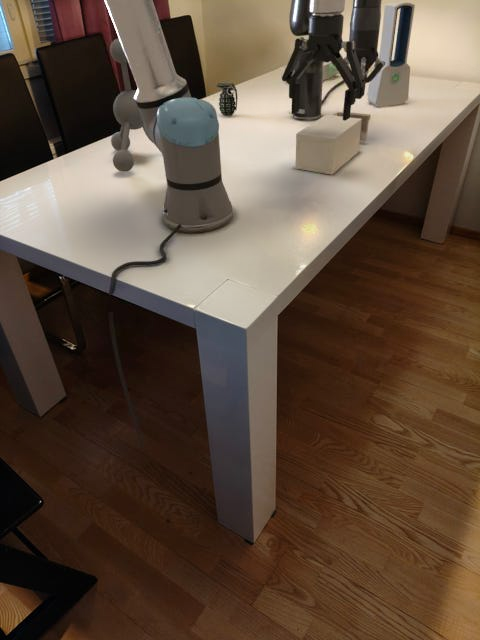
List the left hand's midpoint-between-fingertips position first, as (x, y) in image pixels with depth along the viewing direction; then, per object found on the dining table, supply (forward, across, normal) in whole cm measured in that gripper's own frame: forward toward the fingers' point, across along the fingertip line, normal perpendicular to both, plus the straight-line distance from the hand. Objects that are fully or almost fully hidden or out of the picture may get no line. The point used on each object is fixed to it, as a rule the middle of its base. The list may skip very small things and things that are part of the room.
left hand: (320, 115), depth 119 cm
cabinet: (+13, 0, -6) cm, 14 cm away
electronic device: (+12, +4, -66) cm, 67 cm away
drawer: (+12, 0, -17) cm, 21 cm away
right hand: (+1, 0, -25) cm, 25 cm away
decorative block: (+12, +46, -94) cm, 105 cm away
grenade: (+13, +48, -32) cm, 59 cm away
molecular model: (+14, +47, +13) cm, 50 cm away
